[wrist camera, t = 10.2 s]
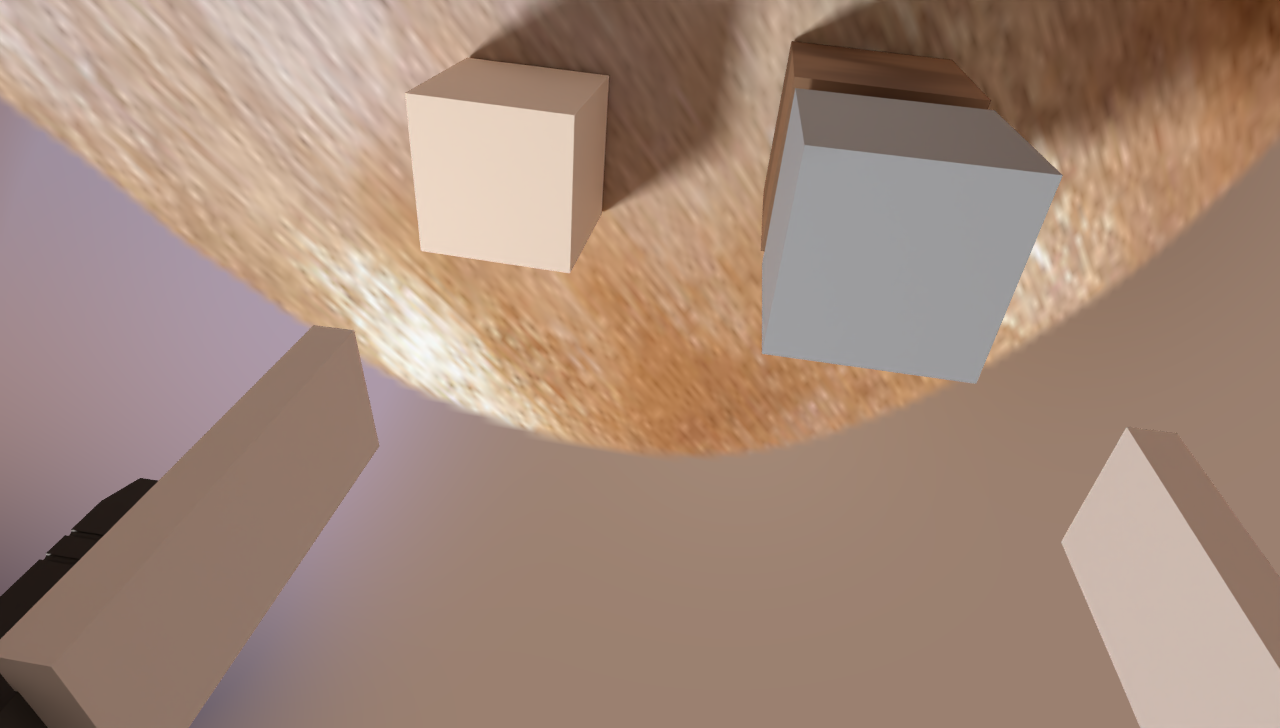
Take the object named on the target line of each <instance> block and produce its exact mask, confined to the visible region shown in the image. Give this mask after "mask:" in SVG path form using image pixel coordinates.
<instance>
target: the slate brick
mask: <svg viewBox="0 0 1280 728" xmlns="http://www.w3.org/2000/svg"><path fill="white" fill-rule="evenodd" d="M1062 176H1063V175H1062V174H1061V173H1060V172H1059V171H1058V170H1057V169H1055V168H1054V167H1053V166H1052V165H1051V164H1050V163H1049V162H1048V161H1047V160H1046V159H1045V158H1044V157H1043V156H1042V155H1041V154H1040V153H1039V152H1038V151H1037V150H1035V149H1034V148H1033V147H1032V146H1031V145H1030V144H1029V143H1028V142H1027V141H1026V140H1025V139H1024V138H1023V137H1022V136H1021V135H1020V134H1019V133H1018V132H1017V131H1016V130H1014V129H1013V128H1012V127H1011V126H1010V125H1009V124H1008V123H1007V122H1006V121H1005V120H1004V119H1003V118H1002V117H1001V116H1000V115H999V114H998V113H997V112H996V111H994V110H987V109H978V108H969V107H960V106H951V105H942V104H933V103H924V102H915V101H906V100H897V99H888V98H879V97H870V96H861V95H852V94H843V93H835V92H826V91H817V90H808V89H799V88H795V93H794V98H793V103H792V109H791V114H790V119H789V125H788V130H787V135H786V140H785V146H784V151H783V156H782V162H781V167H780V172H779V178H778V183H777V188H776V194H775V199H774V204H773V209H772V215H771V220H770V225H769V231H768V236H767V241H766V247H765V252H764V257H763V263H762V354H768V355H775V356H782V357H789V358H797V359H804V360H811V361H818V362H825V363H832V364H839V365H846V366H854V367H861V368H868V369H875V370H882V371H889V372H896V373H903V374H911V375H918V376H925V377H932V378H939V379H946V380H953V381H960V382H968V383H975V384H976V383H977V380H978V378H979V376H980V373H981V371H982V368H983V366H984V364H985V361H986V359H987V356H988V354H989V352H990V349H991V347H992V344H993V342H994V339H995V337H996V335H997V332H998V330H999V327H1000V325H1001V323H1002V320H1003V318H1004V315H1005V313H1006V311H1007V308H1008V306H1009V303H1010V301H1011V299H1012V296H1013V294H1014V291H1015V289H1016V287H1017V284H1018V282H1019V279H1020V277H1021V274H1022V272H1023V270H1024V267H1025V265H1026V262H1027V260H1028V258H1029V255H1030V253H1031V250H1032V248H1033V246H1034V243H1035V241H1036V238H1037V236H1038V234H1039V231H1040V229H1041V226H1042V224H1043V222H1044V219H1045V217H1046V214H1047V212H1048V210H1049V207H1050V205H1051V202H1052V200H1053V197H1054V195H1055V193H1056V190H1057V188H1058V185H1059V183H1060V181H1061V178H1062Z"/></svg>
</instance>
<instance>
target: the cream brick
mask: <svg viewBox="0 0 1280 728" xmlns="http://www.w3.org/2000/svg"><path fill="white" fill-rule="evenodd" d="M608 88H609V75H601V74H593V73H585V72H577V71H569V70H561V69H553V68H545V67H537V66H529V65H521V64H513V63H506V62H498V61H490V60H482V59H474V58H466V59H464V60H462V61H460V62H459V63H457V64H455V65H453V66H452V67H450V68H448V69H446V70H445V71H443V72H441V73H439V74H438V75H436V76H434V77H432V78H431V79H429V80H427V81H425V82H424V83H422V84H420V85H418V86H416V87H415V88H413V89H411V90H409V91H408V92H406V93H405V98H406V108H407V118H408V128H409V138H410V148H411V157H412V167H413V177H414V187H415V197H416V207H417V216H418V226H419V236H420V246H421V251H425V252H432V253H439V254H445V255H452V256H459V257H465V258H472V259H479V260H485V261H492V262H498V263H505V264H512V265H518V266H525V267H532V268H538V269H545V270H551V271H558V272H565V273H570V272H571V270H572V268H573V267H574V265H575V263H576V261H577V259H578V257H579V255H580V253H581V252H582V250H583V248H584V246H585V244H586V242H587V240H588V238H589V237H590V235H591V233H592V231H593V229H594V227H595V225H596V224H597V222H598V220H599V218H600V216H601V214H602V198H603V180H604V162H605V143H606V125H607V107H608Z"/></svg>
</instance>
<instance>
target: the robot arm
mask: <svg viewBox="0 0 1280 728" xmlns="http://www.w3.org/2000/svg"><path fill="white" fill-rule="evenodd" d="M378 447H379V442H378V438H377V433H376V428H375V424H374V419H373V415H372V410H371V406H370V401H369V397H368V392H367V387H366V383H365V378H364V374H363V369H362V364H361V360H360V355H359V351H358V346H357V341H356V337H355V332H354V330H347V329H339V328H331V327H323V326H315V325H314V326H313V327H312V328H311V329H310V330H309V331H308V332H307V333H306V334H305V335H304V336H303V337H302V338H301V339H300V340H299V341H298V342H297V343H296V344H295V345H294V346H293V347H292V348H291V349H290V350H289V351H288V352H287V353H286V354H285V355H284V356H283V357H282V358H281V359H280V360H279V361H278V362H277V363H276V364H275V365H274V366H273V367H272V368H271V369H270V370H269V371H268V372H267V373H266V374H265V375H264V376H263V377H262V378H261V379H260V380H259V381H258V382H257V383H256V384H255V385H254V386H253V387H252V388H251V389H250V390H249V391H248V392H247V393H246V394H245V395H244V396H243V397H242V398H241V399H240V400H239V401H238V402H237V403H236V404H235V405H234V406H233V407H232V408H231V409H230V410H229V411H228V412H227V413H226V414H225V415H224V416H223V417H222V418H221V419H220V420H219V421H218V422H217V423H216V424H215V425H214V426H213V427H212V428H211V429H210V430H209V431H208V432H207V433H206V434H205V435H204V436H203V437H202V438H201V439H200V440H199V441H198V442H197V443H196V444H195V445H194V446H193V447H192V448H191V449H190V450H189V451H188V452H187V453H186V454H185V455H184V456H183V457H182V458H181V459H180V460H179V461H178V462H177V463H176V464H175V465H174V466H173V467H172V468H171V469H170V470H169V471H168V472H167V473H166V474H165V475H164V476H163V477H162V478H161V479H160V480H159V481H156V480H150V479H143V478H140V479H138V480H136V481H134V482H133V483H131V484H129V485H128V486H126V487H124V488H123V489H121V490H119V491H117V492H116V493H114V494H112V495H111V496H109V497H107V498H106V499H104V500H102V501H101V502H100V503H99V504H98V505H97V506H96V507H94V508H93V509H92V510H91V511H90V512H89V513H88V514H87V515H86V516H85V517H84V518H83V519H82V520H81V521H80V522H79V523H78V524H77V525H75V526H74V527H73V528H72V529H71V534H70V535H69V536H66V535H65V536H64V537H63V538H62V539H61V540H60V541H59V542H58V543H57V544H55V545H54V546H53V547H52V548H51V549H50V550H49V551H48V552H47V553H46V558H45V559H44V560H38V561H37V562H36V563H35V564H34V565H33V566H32V567H31V568H30V569H29V570H28V571H27V572H26V573H25V574H24V575H23V576H22V577H21V578H20V579H19V580H17V581H16V582H15V583H14V584H13V585H12V586H11V587H10V588H9V589H8V590H7V591H6V592H5V593H4V594H3V595H2V596H0V728H189V726H190V725H191V723H192V722H193V720H194V719H195V717H196V716H197V714H198V713H199V712H200V710H201V709H202V707H203V706H204V704H205V703H206V701H207V699H208V698H209V697H210V695H211V694H212V692H213V691H214V689H215V688H216V686H217V685H218V683H219V682H220V681H221V679H222V678H223V676H224V675H225V673H226V671H227V670H228V669H229V667H230V666H231V664H232V663H233V661H234V660H235V658H236V657H237V655H238V654H239V652H240V651H241V649H242V648H243V646H244V645H245V643H246V642H247V641H248V639H249V638H250V636H251V635H252V633H253V632H254V630H255V629H256V627H257V626H258V624H259V623H260V621H261V620H262V618H263V617H264V616H265V614H266V613H267V611H268V610H269V608H270V607H271V605H272V604H273V602H274V601H275V599H276V598H277V596H278V595H279V593H280V592H281V590H282V589H283V587H284V586H285V584H286V583H287V582H288V580H289V579H290V577H291V576H292V574H293V573H294V571H295V570H296V568H297V567H298V565H299V564H300V562H301V561H302V559H303V558H304V557H305V555H306V554H307V552H308V551H309V549H310V547H311V546H312V545H313V543H314V542H315V540H316V539H317V537H318V536H319V534H320V533H321V531H322V530H323V528H324V527H325V525H326V524H327V523H328V521H329V520H330V518H331V517H332V515H333V514H334V512H335V511H336V509H337V508H338V506H339V505H340V503H341V502H342V500H343V499H344V497H345V496H346V494H347V493H348V492H349V490H350V489H351V487H352V485H353V484H354V483H355V481H356V480H357V478H358V477H359V475H360V474H361V472H362V471H363V469H364V468H365V466H366V465H367V463H368V462H369V460H370V459H371V458H372V456H373V455H374V453H375V452H376V450H377V449H378ZM1061 543H1062V545H1063V548H1064V550H1065V552H1066V555H1067V557H1068V559H1069V562H1070V564H1071V566H1072V569H1073V571H1074V573H1075V575H1076V578H1077V580H1078V582H1079V585H1080V587H1081V590H1082V592H1083V594H1084V597H1085V599H1086V601H1087V604H1088V606H1089V608H1090V611H1091V613H1092V615H1093V618H1094V620H1095V622H1096V625H1097V627H1098V629H1099V632H1100V634H1101V637H1102V639H1103V641H1104V644H1105V646H1106V648H1107V651H1108V653H1109V655H1110V657H1111V660H1112V662H1113V664H1114V667H1115V669H1116V672H1117V674H1118V676H1119V679H1120V681H1121V683H1122V686H1123V688H1124V690H1125V693H1126V695H1127V697H1128V700H1129V702H1130V704H1131V707H1132V709H1133V711H1134V714H1135V716H1136V718H1137V721H1138V723H1139V725H1140V728H1280V577H1279V575H1278V574H1277V573H1276V571H1275V570H1274V568H1273V567H1272V566H1271V564H1270V563H1269V561H1268V560H1267V559H1266V557H1265V556H1264V554H1263V553H1262V552H1261V550H1260V549H1259V548H1258V546H1257V545H1256V543H1255V542H1254V540H1253V539H1252V538H1251V536H1250V535H1249V533H1248V532H1247V531H1246V529H1245V528H1244V527H1243V525H1242V523H1241V522H1240V521H1239V519H1238V518H1237V516H1236V515H1235V514H1234V512H1233V511H1232V509H1231V508H1230V507H1229V505H1228V504H1227V502H1226V501H1225V500H1224V499H1223V497H1222V495H1221V494H1220V493H1219V491H1218V490H1217V488H1216V487H1215V486H1214V484H1213V483H1212V482H1211V480H1210V479H1209V477H1208V476H1207V474H1206V473H1205V472H1204V470H1203V469H1202V467H1201V466H1200V465H1199V463H1198V462H1197V461H1196V459H1195V458H1194V456H1193V455H1192V453H1191V452H1190V451H1189V449H1188V448H1187V446H1186V445H1185V444H1184V442H1183V441H1182V439H1181V438H1180V437H1179V435H1178V434H1177V433H1172V432H1164V431H1156V430H1147V429H1139V428H1132V427H1126V429H1125V431H1124V432H1123V434H1122V436H1121V438H1120V440H1119V441H1118V443H1117V445H1116V447H1115V448H1114V450H1113V452H1112V454H1111V455H1110V457H1109V459H1108V461H1107V462H1106V464H1105V466H1104V468H1103V469H1102V471H1101V473H1100V475H1099V476H1098V478H1097V480H1096V482H1095V484H1094V485H1093V487H1092V489H1091V490H1090V492H1089V494H1088V496H1087V498H1086V499H1085V501H1084V503H1083V505H1082V506H1081V508H1080V510H1079V512H1078V513H1077V515H1076V517H1075V519H1074V520H1073V522H1072V524H1071V526H1070V527H1069V529H1068V531H1067V533H1066V534H1065V536H1064V538H1063V540H1062V541H1061Z"/></svg>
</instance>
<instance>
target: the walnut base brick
mask: <svg viewBox="0 0 1280 728" xmlns="http://www.w3.org/2000/svg"><path fill="white" fill-rule="evenodd" d="M795 88H799V89H808V90H817V91H826V92H835V93H843V94H852V95H861V96H870V97H879V98H888V99H897V100H906V101H915V102H924V103H933V104H942V105H951V106H960V107H969V108H978V109H987V110H988V107H989V104H990V101H991V100H990V99H989V98H988V97H987V96H986V95H985V94H984V93H983V92H982V91H981V90H980V89H979V88H978V87H977V86H976V84H975V83H974V82H973V81H972V80H971V79H970V78H969V77H968V76H967V75H966V74H965V73H964V72H963V71H962V70H961V69H960V68H959V67H958V66H957V65H956V64H955V63H954V61H953V60H948V59H939V58H931V57H922V56H914V55H905V54H896V53H888V52H879V51H871V50H862V49H853V48H845V47H836V46H828V45H819V44H811V43H802V42H793V41H792V42H791V47H790V52H789V58H788V63H787V69H786V74H785V79H784V85H783V90H782V95H781V101H780V106H779V112H778V117H777V122H776V128H775V133H774V138H773V144H772V149H771V155H770V160H769V165H768V171H767V176H766V181H765V187H764V195H763V215H762V236H761V251H765V247H766V241H767V236H768V231H769V225H770V220H771V215H772V209H773V204H774V199H775V194H776V188H777V183H778V178H779V172H780V167H781V162H782V156H783V151H784V146H785V140H786V135H787V130H788V125H789V119H790V114H791V109H792V103H793V98H794V93H795Z"/></svg>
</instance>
